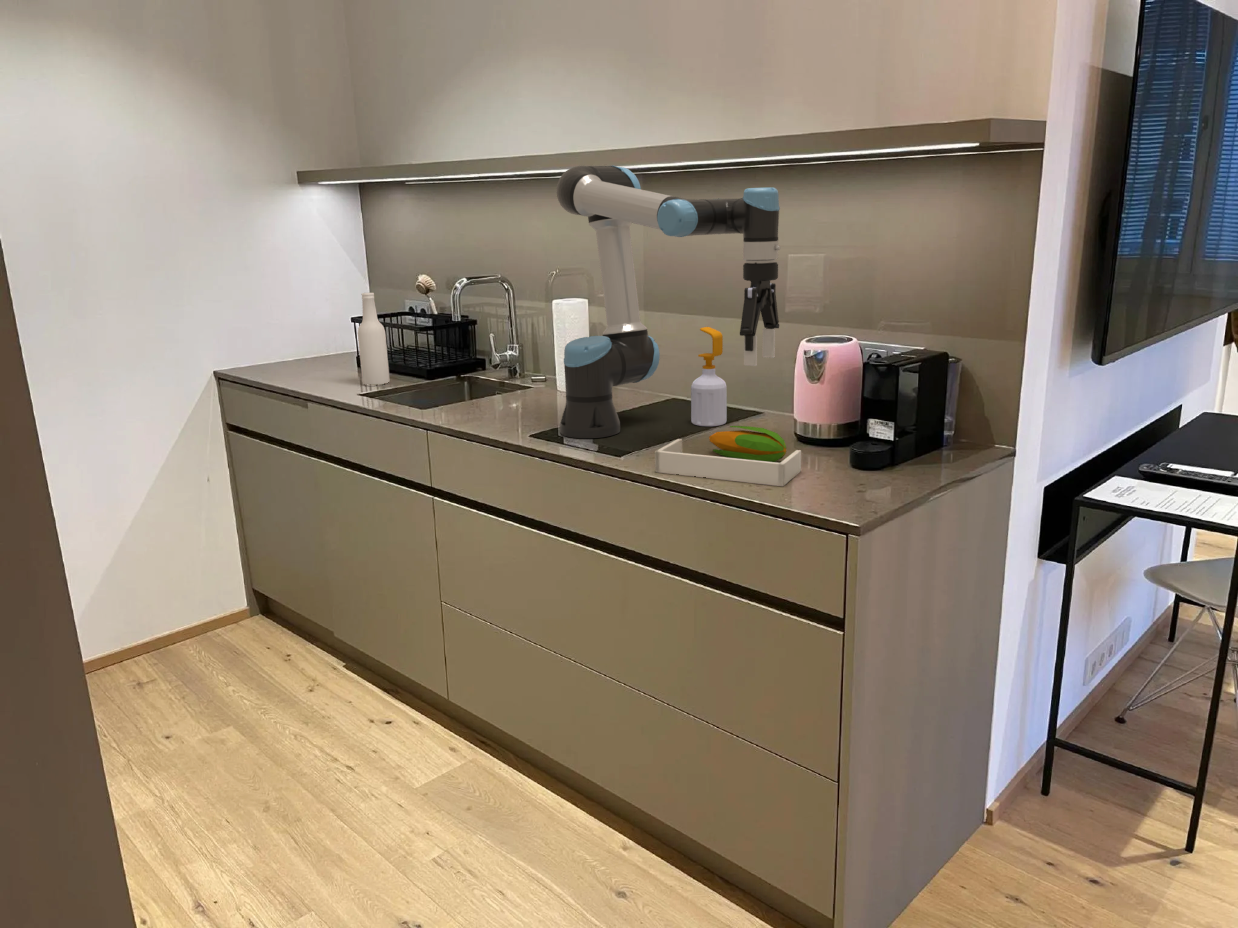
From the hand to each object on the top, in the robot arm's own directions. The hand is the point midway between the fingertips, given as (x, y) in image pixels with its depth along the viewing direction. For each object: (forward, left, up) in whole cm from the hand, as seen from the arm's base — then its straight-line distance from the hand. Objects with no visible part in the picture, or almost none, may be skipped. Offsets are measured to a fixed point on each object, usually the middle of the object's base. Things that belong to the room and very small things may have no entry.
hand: (759, 361), depth 208 cm
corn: (0, -9, -21) cm, 22 cm away
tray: (0, -20, -20) cm, 28 cm away
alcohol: (-146, +37, -21) cm, 152 cm away
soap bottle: (-21, +22, -21) cm, 36 cm away
